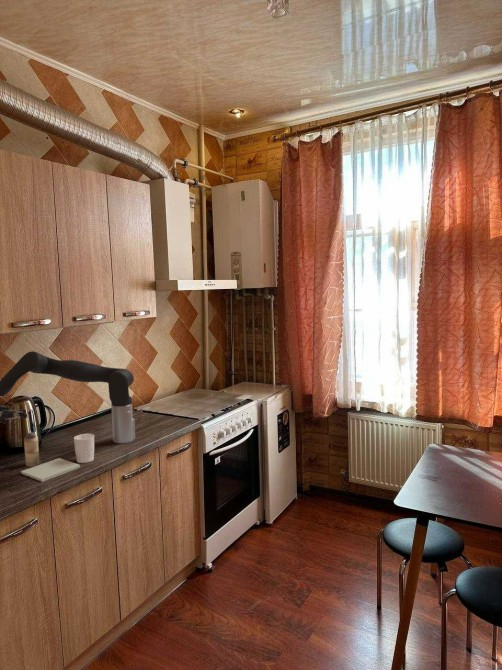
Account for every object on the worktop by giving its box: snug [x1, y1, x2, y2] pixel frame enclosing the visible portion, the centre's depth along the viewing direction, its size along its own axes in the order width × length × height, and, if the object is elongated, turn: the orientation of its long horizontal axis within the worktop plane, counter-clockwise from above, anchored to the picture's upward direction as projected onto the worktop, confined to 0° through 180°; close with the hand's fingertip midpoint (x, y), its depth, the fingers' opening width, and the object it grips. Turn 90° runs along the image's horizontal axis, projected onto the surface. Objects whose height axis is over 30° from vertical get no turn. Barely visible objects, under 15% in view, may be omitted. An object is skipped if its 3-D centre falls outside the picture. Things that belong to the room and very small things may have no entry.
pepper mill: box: [23, 432, 40, 467], centre depth 182 cm, size 5×5×12 cm
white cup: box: [73, 433, 95, 464], centre depth 186 cm, size 8×8×10 cm
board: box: [20, 457, 81, 483], centre depth 176 cm, size 16×14×1 cm
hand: (16, 418), depth 187 cm, fingers open, 8 cm apart
